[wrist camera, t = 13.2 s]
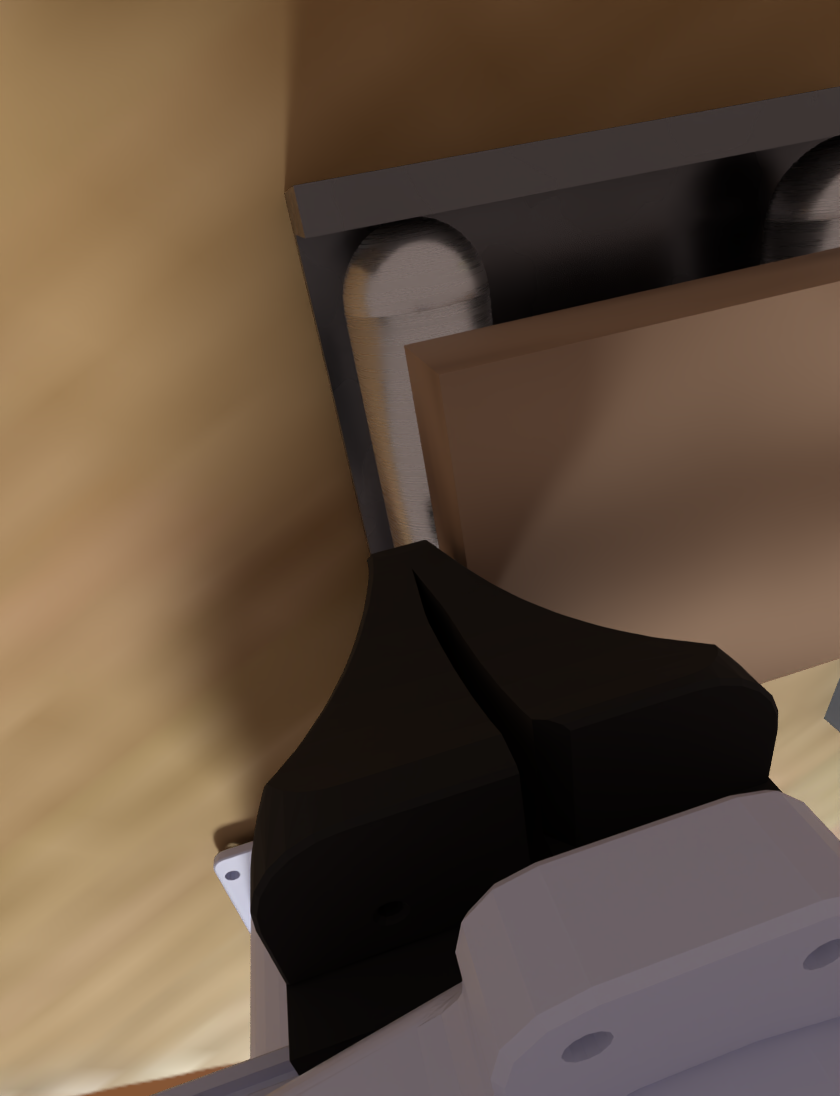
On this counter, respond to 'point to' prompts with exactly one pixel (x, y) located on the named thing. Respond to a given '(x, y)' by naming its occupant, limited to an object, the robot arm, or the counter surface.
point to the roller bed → (540, 252)
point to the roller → (834, 709)
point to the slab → (653, 460)
